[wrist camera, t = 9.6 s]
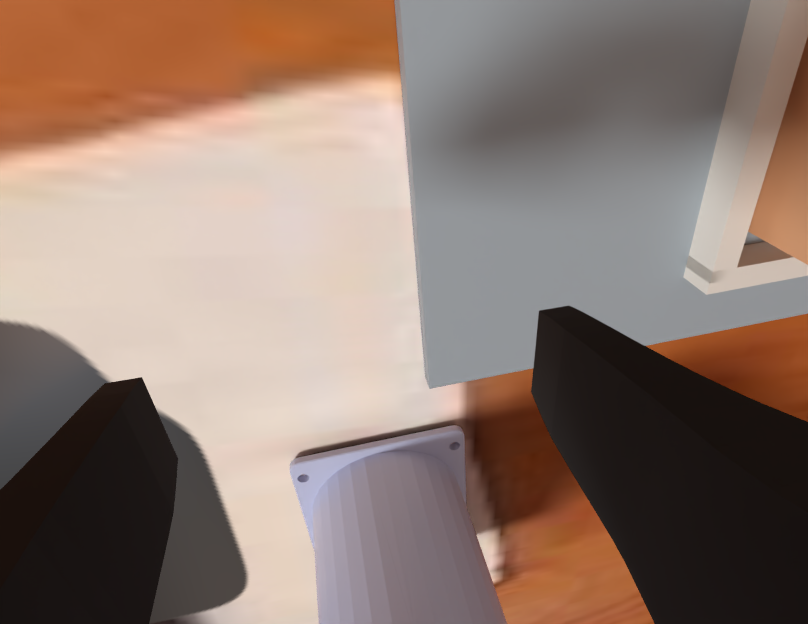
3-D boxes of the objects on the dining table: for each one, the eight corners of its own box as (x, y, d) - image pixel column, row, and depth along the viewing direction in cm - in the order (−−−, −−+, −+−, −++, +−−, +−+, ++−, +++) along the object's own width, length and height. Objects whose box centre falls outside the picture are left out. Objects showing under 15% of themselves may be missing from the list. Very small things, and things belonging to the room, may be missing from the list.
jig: (819, 299, 25) (861, 325, 23) (425, 376, 23) (438, 412, 21) (1047, -243, 15) (1154, -273, 13) (378, -198, 13) (394, -226, 11)
